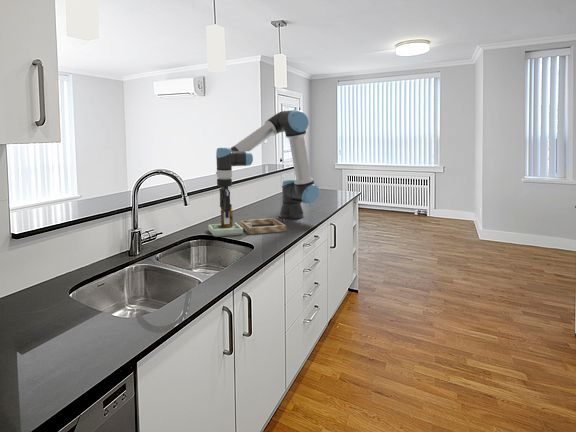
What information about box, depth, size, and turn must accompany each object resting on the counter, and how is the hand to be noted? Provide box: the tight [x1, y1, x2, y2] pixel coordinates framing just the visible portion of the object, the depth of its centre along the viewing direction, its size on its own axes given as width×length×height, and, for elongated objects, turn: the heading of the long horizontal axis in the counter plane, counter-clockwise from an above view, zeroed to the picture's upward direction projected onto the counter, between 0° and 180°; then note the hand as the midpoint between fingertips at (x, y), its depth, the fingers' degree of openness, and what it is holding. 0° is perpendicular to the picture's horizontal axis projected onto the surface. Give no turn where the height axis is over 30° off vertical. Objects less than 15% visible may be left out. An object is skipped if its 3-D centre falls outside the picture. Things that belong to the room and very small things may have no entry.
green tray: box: [208, 222, 244, 238], centre depth 212 cm, size 15×15×3 cm
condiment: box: [216, 203, 234, 229], centre depth 211 cm, size 7×8×12 cm
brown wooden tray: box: [239, 217, 287, 235], centre depth 221 cm, size 20×20×3 cm
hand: (225, 222), depth 211 cm, fingers closed on condiment, 6 cm apart
